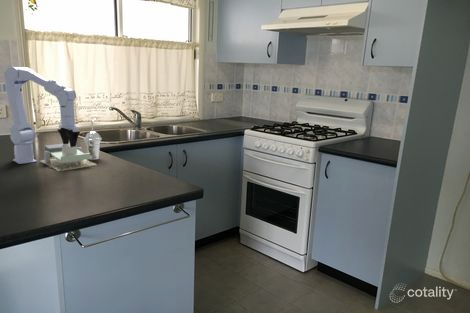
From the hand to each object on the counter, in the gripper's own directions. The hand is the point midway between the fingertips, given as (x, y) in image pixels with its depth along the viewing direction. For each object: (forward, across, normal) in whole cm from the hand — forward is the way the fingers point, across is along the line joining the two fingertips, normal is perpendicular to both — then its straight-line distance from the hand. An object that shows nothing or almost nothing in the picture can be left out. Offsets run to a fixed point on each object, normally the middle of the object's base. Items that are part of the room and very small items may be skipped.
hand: (69, 145), depth 175 cm
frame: (+10, -5, +1) cm, 11 cm away
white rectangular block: (+5, 0, 0) cm, 5 cm away
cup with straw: (+10, -8, +15) cm, 20 cm away
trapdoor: (+7, -6, +1) cm, 10 cm away
